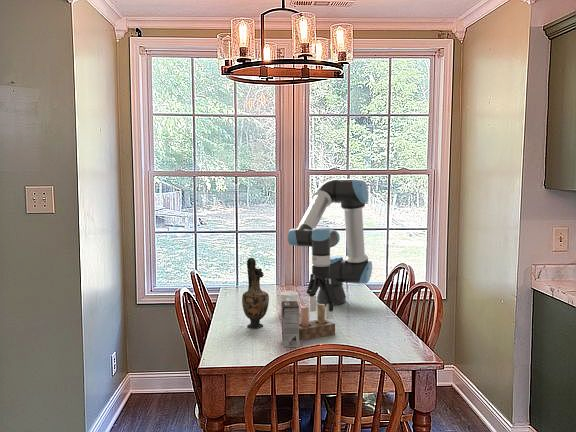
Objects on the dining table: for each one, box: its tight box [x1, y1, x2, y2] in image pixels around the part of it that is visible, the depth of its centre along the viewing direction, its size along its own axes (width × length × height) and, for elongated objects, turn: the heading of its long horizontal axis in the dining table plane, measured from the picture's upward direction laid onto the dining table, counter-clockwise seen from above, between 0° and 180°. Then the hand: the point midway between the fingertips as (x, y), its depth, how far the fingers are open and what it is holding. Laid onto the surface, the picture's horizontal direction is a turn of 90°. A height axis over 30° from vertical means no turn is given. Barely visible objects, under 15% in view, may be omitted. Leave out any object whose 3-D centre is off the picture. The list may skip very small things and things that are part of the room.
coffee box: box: [280, 301, 300, 348], centre depth 217 cm, size 9×6×16 cm
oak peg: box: [316, 303, 326, 325], centre depth 231 cm, size 3×3×12 cm
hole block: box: [299, 318, 336, 341], centre depth 229 cm, size 16×9×4 cm, turn 118°
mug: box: [279, 290, 299, 316], centre depth 258 cm, size 12×8×10 cm
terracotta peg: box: [300, 305, 310, 327], centre depth 227 cm, size 3×3×12 cm
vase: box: [241, 257, 270, 330], centre depth 241 cm, size 12×12×30 cm
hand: (321, 314), depth 230 cm, fingers open, 13 cm apart
